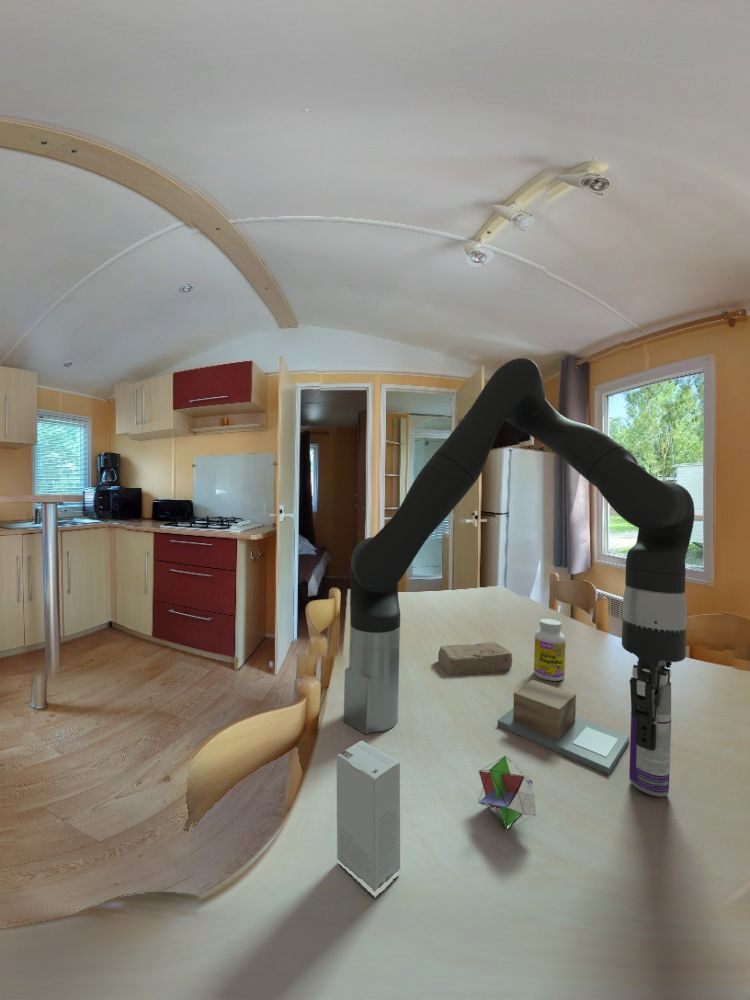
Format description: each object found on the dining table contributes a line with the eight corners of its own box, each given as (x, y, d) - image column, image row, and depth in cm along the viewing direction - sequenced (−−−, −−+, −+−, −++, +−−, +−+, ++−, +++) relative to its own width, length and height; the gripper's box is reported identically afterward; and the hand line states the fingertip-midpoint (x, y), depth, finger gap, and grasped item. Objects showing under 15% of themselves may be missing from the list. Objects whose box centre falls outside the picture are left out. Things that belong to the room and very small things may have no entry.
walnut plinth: (558, 739, 67) (559, 709, 67) (513, 720, 73) (513, 692, 73) (575, 721, 73) (575, 694, 73) (531, 705, 78) (532, 679, 78)
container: (631, 769, 60) (634, 669, 60) (670, 784, 57) (673, 678, 57) (626, 785, 57) (630, 678, 57) (667, 801, 54) (671, 689, 54)
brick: (449, 676, 94) (450, 656, 94) (436, 662, 102) (437, 643, 102) (513, 672, 97) (514, 652, 97) (496, 658, 105) (496, 640, 105)
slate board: (608, 774, 60) (609, 767, 60) (497, 725, 73) (497, 719, 73) (628, 742, 68) (629, 735, 68) (526, 703, 81) (526, 697, 81)
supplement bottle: (534, 679, 93) (535, 623, 93) (533, 668, 99) (534, 616, 99) (566, 684, 90) (567, 627, 91) (562, 672, 97) (564, 619, 97)
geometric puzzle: (455, 791, 53) (489, 759, 49) (482, 767, 58) (515, 737, 54) (494, 851, 49) (534, 822, 45) (520, 821, 53) (558, 792, 50)
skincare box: (401, 874, 43) (404, 760, 43) (373, 904, 40) (376, 781, 40) (361, 840, 47) (364, 736, 47) (332, 864, 44) (335, 753, 44)
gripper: (677, 637, 49) (673, 776, 49) (693, 617, 60) (690, 732, 59) (609, 623, 55) (605, 748, 55) (634, 606, 65) (632, 712, 65)
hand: (650, 739), depth 57 cm, fingers closed on container, 4 cm apart
